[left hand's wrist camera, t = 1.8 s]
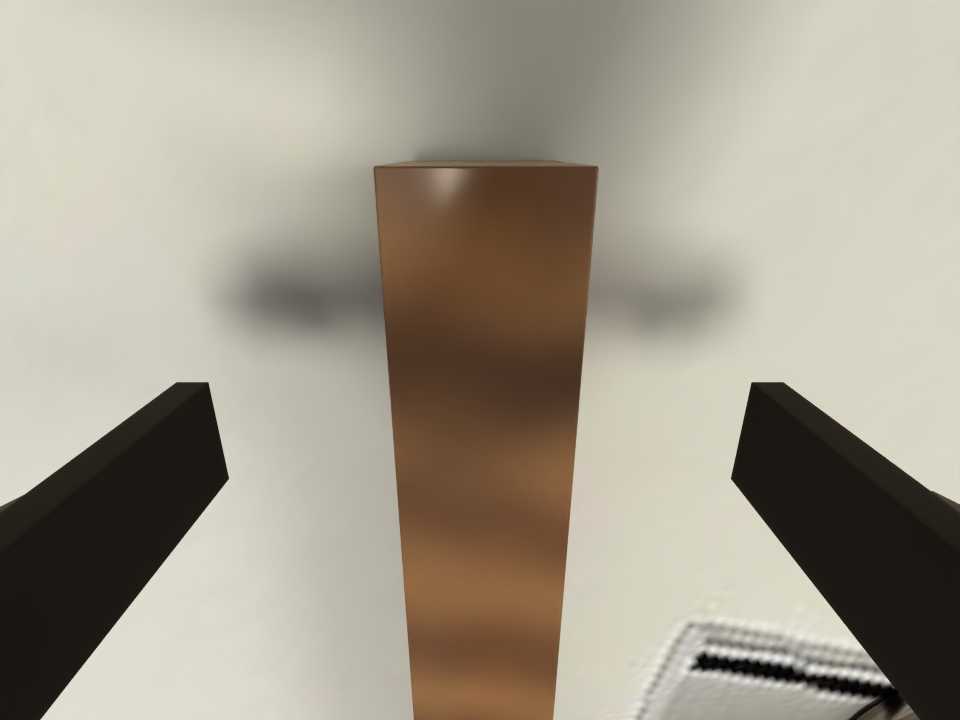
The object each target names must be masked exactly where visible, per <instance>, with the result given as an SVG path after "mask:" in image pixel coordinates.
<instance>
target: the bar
mask: <svg viewBox="0 0 960 720" xmlns="http://www.w3.org/2000/svg"><path fill="white" fill-rule="evenodd" d="M597 180H598V167H597V166H591V165H583V164H575V163H567V162H559V161H410V162H403V163H395V164H387V165H380V166H375V167H374V182H375V195H376V209H377V223H378V236H379V250H380V263H381V277H382V291H383V304H384V318H385V331H386V345H387V359H388V372H389V386H390V399H391V413H392V427H393V440H394V454H395V467H396V481H397V495H398V508H399V522H400V535H401V549H402V563H403V576H404V590H405V603H406V617H407V631H408V644H409V658H410V671H411V685H412V699H413V712H414V720H553V714H554V702H555V690H556V677H557V665H558V653H559V641H560V629H561V617H562V605H563V592H564V580H565V568H566V556H567V544H568V532H569V520H570V507H571V495H572V483H573V471H574V459H575V447H576V435H577V422H578V410H579V398H580V386H581V374H582V362H583V350H584V337H585V325H586V313H587V301H588V289H589V277H590V265H591V252H592V240H593V228H594V216H595V204H596V192H597Z"/></svg>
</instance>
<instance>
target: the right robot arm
mask: <svg viewBox="0 0 960 720" xmlns="http://www.w3.org/2000/svg"><path fill="white" fill-rule="evenodd" d="M856 720H920V719H919V718H918V717H917V716H916V714H915V713H914V712H913V710H912V709H911V708H910V707H909V705H908V704H907V703H906V702H905V700H904V699H903V698H902V696H901V695H900V694H897V695H895V696H893V697H891V698H889V699H887V700H885V701H883V702H881V703H879V704H878V705H876V706H874V707H873V708H871V709H870V710H868V711H867V712H865V713H864V714H863V715H861V716H860V717H859V718H858V719H856Z"/></svg>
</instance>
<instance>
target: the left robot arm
mask: <svg viewBox="0 0 960 720" xmlns="http://www.w3.org/2000/svg"><path fill="white" fill-rule="evenodd" d="M228 479H229V477H228V472H227V467H226V463H225V458H224V453H223V449H222V444H221V439H220V435H219V430H218V425H217V421H216V416H215V411H214V407H213V402H212V397H211V393H210V388H209V383H208V382H176V383H175V384H174V385H172V386H171V387H170V388H168V389H167V390H166V391H164V392H163V393H162V394H160V395H159V396H158V397H156V398H155V399H153V400H152V401H151V402H149V403H148V404H147V405H145V406H144V407H143V408H141V409H140V410H139V411H137V412H136V413H135V414H133V415H132V416H130V417H129V418H128V419H126V420H125V421H124V422H122V423H121V424H120V425H118V426H117V427H116V428H114V429H113V430H111V431H110V432H109V433H107V434H106V435H105V436H103V437H102V438H101V439H99V440H98V441H97V442H95V443H94V444H93V445H91V446H90V447H88V448H87V449H86V450H84V451H83V452H82V453H80V454H79V455H78V456H76V457H75V458H74V459H72V460H71V461H70V462H68V463H67V464H65V465H64V466H63V467H61V468H60V469H59V470H57V471H56V472H55V473H53V474H52V475H51V476H49V477H48V478H47V479H45V480H44V481H42V482H41V483H40V484H38V485H37V486H36V487H34V488H33V489H32V490H30V491H29V492H28V493H26V494H25V495H23V496H21V497H19V498H17V499H15V500H13V501H11V502H9V503H7V504H5V505H3V506H1V507H0V720H40V719H41V718H42V717H43V716H44V714H45V713H46V712H47V710H48V709H49V708H50V707H51V705H52V704H53V703H54V702H55V700H56V699H57V698H58V696H59V695H60V694H61V693H62V691H63V690H64V689H65V687H66V686H67V685H68V684H69V682H70V681H71V680H72V679H73V677H74V676H75V675H76V673H77V672H78V671H79V670H80V668H81V667H82V666H83V664H84V663H85V662H86V661H87V659H88V658H89V657H90V656H91V654H92V653H93V652H94V650H95V649H96V648H97V647H98V645H99V644H100V643H101V642H102V640H103V639H104V638H105V636H106V635H107V634H108V633H109V631H110V630H111V629H112V627H113V626H114V625H115V624H116V622H117V621H118V620H119V619H120V617H121V616H122V615H123V613H124V612H125V611H126V610H127V608H128V607H129V606H130V604H131V603H132V602H133V601H134V599H135V598H136V597H137V596H138V594H139V593H140V592H141V590H142V589H143V588H144V587H145V585H146V584H147V583H148V581H149V580H150V579H151V578H152V576H153V575H154V574H155V573H156V571H157V570H158V569H159V567H160V566H161V565H162V564H163V562H164V561H165V560H166V559H167V557H168V556H169V555H170V553H171V552H172V551H173V550H174V548H175V547H176V546H177V544H178V543H179V542H180V541H181V539H182V538H183V537H184V536H185V534H186V533H187V532H188V530H189V529H190V528H191V527H192V525H193V524H194V523H195V521H196V520H197V519H198V518H199V516H200V515H201V514H202V513H203V511H204V510H205V509H206V507H207V506H208V505H209V504H210V502H211V501H212V500H213V499H214V497H215V496H216V495H217V493H218V492H219V491H220V490H221V488H222V487H223V486H224V484H225V483H226V482H227V481H228ZM731 479H732V481H733V482H734V483H735V484H736V486H737V487H738V488H739V490H740V491H741V492H742V493H743V495H744V496H745V497H746V499H747V500H748V501H749V502H750V504H751V505H752V506H753V507H754V509H755V510H756V511H757V513H758V514H759V515H760V516H761V518H762V519H763V520H764V521H765V523H766V524H767V525H768V527H769V528H770V529H771V530H772V532H773V533H774V534H775V536H776V537H777V538H778V539H779V541H780V542H781V543H782V544H783V546H784V547H785V548H786V550H787V551H788V552H789V553H790V555H791V556H792V557H793V559H794V560H795V561H796V562H797V564H798V565H799V566H800V567H801V569H802V570H803V571H804V573H805V574H806V575H807V576H808V578H809V579H810V580H811V582H812V583H813V584H814V585H815V587H816V588H817V589H818V590H819V592H820V593H821V594H822V596H823V597H824V598H825V599H826V601H827V602H828V603H829V604H830V606H831V607H832V608H833V610H834V611H835V612H836V613H837V615H838V616H839V617H840V619H841V620H842V621H843V622H844V624H845V625H846V626H847V627H848V629H849V630H850V631H851V633H852V634H853V635H854V636H855V638H856V639H857V640H858V642H859V643H860V644H861V645H862V647H863V648H864V649H865V650H866V652H867V653H868V654H869V656H870V657H871V658H872V659H873V661H874V662H875V663H876V664H877V666H878V667H879V668H880V670H881V671H882V672H883V673H884V675H885V676H886V677H887V679H888V680H889V681H890V682H891V684H892V685H893V686H894V687H895V689H896V690H897V691H898V693H899V694H900V695H901V696H902V698H903V699H904V700H905V702H906V703H907V704H908V705H909V707H910V708H911V709H912V710H913V712H914V713H915V714H916V716H917V717H918V718H919V719H920V720H960V504H958V503H956V502H954V501H952V500H950V499H948V498H946V497H944V496H942V495H940V494H938V493H936V492H934V491H930V490H928V489H927V488H926V487H924V486H923V485H922V484H920V483H919V482H918V481H916V480H915V479H913V478H912V477H911V476H909V475H908V474H907V473H905V472H904V471H903V470H901V469H900V468H899V467H897V466H896V465H895V464H893V463H892V462H890V461H889V460H888V459H886V458H885V457H884V456H882V455H881V454H880V453H878V452H877V451H876V450H874V449H873V448H872V447H870V446H869V445H867V444H866V443H865V442H863V441H862V440H861V439H859V438H858V437H857V436H855V435H854V434H853V433H851V432H850V431H849V430H847V429H846V428H844V427H843V426H842V425H840V424H839V423H838V422H836V421H835V420H834V419H832V418H831V417H830V416H828V415H827V414H825V413H824V412H823V411H821V410H820V409H819V408H817V407H816V406H815V405H813V404H812V403H811V402H809V401H808V400H807V399H805V398H804V397H802V396H801V395H800V394H798V393H797V392H796V391H794V390H793V389H792V388H790V387H789V386H788V385H786V384H785V383H784V382H752V383H751V388H750V393H749V397H748V402H747V407H746V411H745V416H744V421H743V425H742V430H741V435H740V439H739V444H738V449H737V453H736V458H735V463H734V467H733V472H732V477H731Z"/></svg>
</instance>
